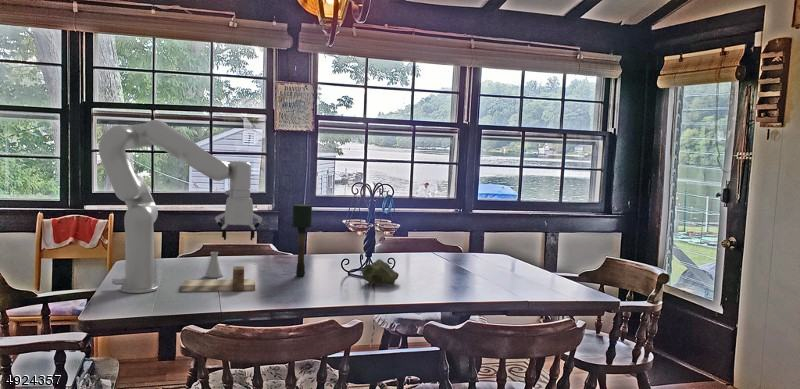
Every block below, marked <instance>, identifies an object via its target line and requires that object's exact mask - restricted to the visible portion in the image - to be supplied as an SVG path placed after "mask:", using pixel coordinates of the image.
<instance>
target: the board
mask: <svg viewBox="0 0 800 389" xmlns="http://www.w3.org/2000/svg"><path fill="white" fill-rule="evenodd" d="M231 290H232V291H233V278H232V279H229V278H226V279H184V280H183V283H182V285H181V292H216V291H217V292H219V291H220V292H222V291H231ZM244 291H256V279H255V278H244Z"/></svg>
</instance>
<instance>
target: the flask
mask: <svg viewBox="0 0 800 389" xmlns="http://www.w3.org/2000/svg"><path fill="white" fill-rule="evenodd" d="M218 255H219V251H210V262H209V264H208V267H207V269H206V272H205V275H204V277H205V278H211V279H216V278H217V279H218V278H219V279H220V278H221V277H223V272H222V270H221V267H220V263H219V258H218Z"/></svg>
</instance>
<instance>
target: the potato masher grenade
mask: <svg viewBox="0 0 800 389" xmlns="http://www.w3.org/2000/svg"><path fill="white" fill-rule="evenodd" d="M312 212H313V206H312V205H311V204H304V203H303V204H302V203H301V204H299V203H298V204H293V205H292V224H291V228H296V229H297V264H296V272H295V275H296V277H304V276H305V275H306V269H305V246H306V245H305V243H306V233H307V232H306V231H307V228H309V229H310V228H312V227H313V225H312V220H313V219H312V216H313V213H312Z"/></svg>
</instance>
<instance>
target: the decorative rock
mask: <svg viewBox="0 0 800 389" xmlns="http://www.w3.org/2000/svg"><path fill="white" fill-rule="evenodd" d="M361 272H362V273H361V274H362V278H363V280H365V281H366V282H367V283H370V284H373V285H376V286H382V285H394V284H395V282H396V280H398V278H399V273H398V272H396V271H395V270H394V269H393V268H391V266H390V264H389V263H388V262H385V261H384V260H382V259H380V258H378V259H377V260H375V261H374V262H373V263H368V264H365V266H364V268H363V270H362V271H361Z"/></svg>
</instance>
